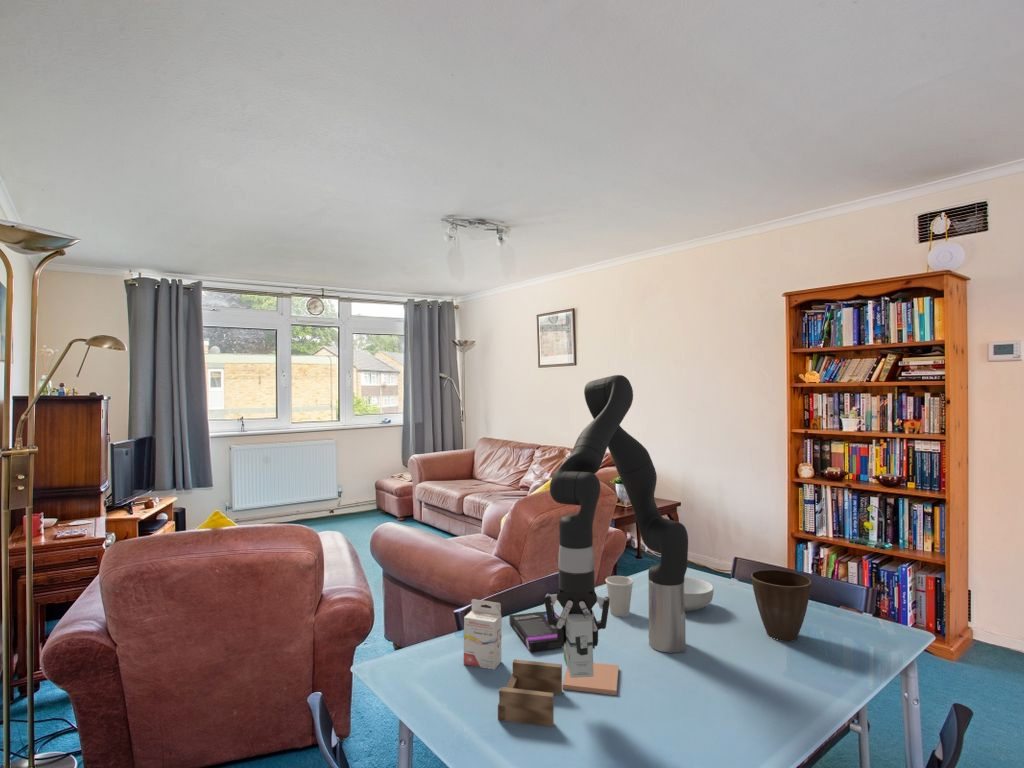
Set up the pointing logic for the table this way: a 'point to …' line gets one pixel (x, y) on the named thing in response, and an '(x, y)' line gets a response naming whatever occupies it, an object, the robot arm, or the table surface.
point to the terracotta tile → (595, 680)
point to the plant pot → (781, 601)
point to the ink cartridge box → (483, 635)
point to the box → (535, 631)
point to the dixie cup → (619, 595)
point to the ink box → (578, 645)
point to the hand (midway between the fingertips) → (577, 645)
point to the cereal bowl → (696, 593)
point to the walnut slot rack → (530, 693)
